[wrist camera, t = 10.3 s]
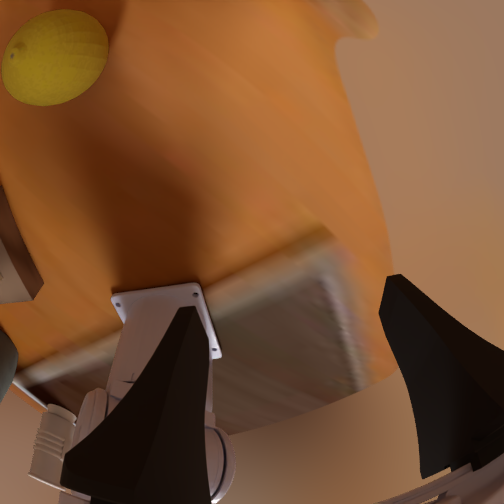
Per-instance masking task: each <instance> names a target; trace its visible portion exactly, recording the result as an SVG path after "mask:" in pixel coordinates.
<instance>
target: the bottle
mask: <svg viewBox="0 0 504 504" xmlns="http://www.w3.org/2000/svg"><path fill="white" fill-rule="evenodd" d="M17 361H18V352H17V349H16V347H15V346H14V344H13V342H12V341H11V340H10V339H9V338H8V336H7V335H6V334H4V333H3V332H2V331H1V330H0V402H1V401H2V399H3V398H4V396H5V394H6V392H7V390H8V389H9V387H10V385H11V383H12V381H13V378H14V374H15V371H16V367H17Z"/></svg>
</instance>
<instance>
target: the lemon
mask: <svg viewBox="0 0 504 504" xmlns="http://www.w3.org/2000/svg"><path fill="white" fill-rule="evenodd" d="M108 52H109V44H108V37H107V35H106V32H105V29H104V28H103V27H102V25H101V24H100V23H99V22H98V21H97V20H96V19H95V18H94V17H92V16H90V15H88V14H87V13H85V12H82V11H77V10H70V9H59V10H54V11H49V12H45V13H42V14H40V15H38V16H36V17H34V18H32V19H30V20H29V21H28V22H26V23H25V24H24V25H23V26H21V28H20V29H19V30H18V31H17V32H16V33H15V34H14V36H13V37H12V38H11V40H10V42H9V43H8V45H7V47H6V50H5V52H4V55H3V59H2V66H1V73H2V80H3V83H4V85H5V88H6V89H7V91H8V92H9V93H10V94H11V95H12V96H13V97H14V98H15V99H17V100H19V101H21V102H23V103H25V104H29V105H37V106H50V105H56V104H61V103H64V102H67V101H69V100H71V99H73V98H76V97H78V96H79V95H80V94H82V93H83V92H84V91H86V90H87V89H89V88H90V86H91V85H92V84H93V83H94V82H95V81H96V80H97V79H98V77H99V76H100V74H101V72H102V71H103V69H104V67H105V64H106V62H107V58H108Z"/></svg>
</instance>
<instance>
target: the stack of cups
mask: <svg viewBox="0 0 504 504" xmlns="http://www.w3.org/2000/svg"><path fill="white" fill-rule="evenodd" d="M47 407H48V412H43V414H42V419H41V424H40V428H38V431H37V432H38V434H37V435H36V438H37V439H36V440H35V444H36V445H34V446H33V448H34V454H33V458H32V463H31V469H30V472H29V473H28V475H29V476H31V477H33V478H35V479H37V480H38V481H41V482H43V483H45V484H47V485H50V486H52V487H55V488H57V489H60V490H63V491H66V489H65V487H63V486H61V485H60V477H61V471H62V466H63V460H64V456H65V453H67V452H68V451H69V450H71V445H72V440H73V435H74V431H75V426H74V425H73V424H72V423H73V422H74V421H75V420H76V416H75V415H74V414H72V413H71V412H70V411H68V410H66V409H64V408H62V407H60V406H58V405H54V404H48V405H47Z"/></svg>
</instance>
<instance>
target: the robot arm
mask: <svg viewBox="0 0 504 504" xmlns="http://www.w3.org/2000/svg"><path fill="white" fill-rule="evenodd" d="M193 293H198V294H193ZM111 301H112V303H113V305H114V307H115V309H116V311H117V312H118V314H119V316H120V318H121V320H122V321H123V323H124V326H123V329H122V332H121V336H120V339H119V343H118V346H117V349H116V353H115V357H114V360H113V364H112V368H111V371H110V375H109V379H108V383H107V387H106V390H103V389H100V388H96V389H95V390H94V391H91V392H88V393H87V395H86V396H85V399H84V401H83V404H82V406H81V409H80V412H79V416H78V419H77V423H76V426H75V431H74V435H73V440H72V445H71V450H69V451H68V452H67V453H65V456H64V460H63V466H62V471H61V477H60V485H61V486H63V487H65V488H68V489H71V493H72V495H71V494H68V493H66V492H63V491H61V492H60V495H59V504H216V503H217V502H218V501H219V500H220V499H221V498H222V497H223V496H224V495H225V494H226V493H227V491H228V489H229V487H230V486H231V484H232V481H233V479H234V475H235V469H236V458H235V452H234V449H233V445H232V443H231V440H230V438H229V436H228V435H227V434H226V432H225V431H223V430H222V429H220V428H218V427H215V414H214V413H211V411H212V406H213V398H212V359H217V358H220V357H222V351H221V349H220V346H219V343H218V340H217V337H216V334H215V331H214V328H213V325H212V322H211V319H210V316H209V312H208V309H207V306H206V303H205V300H204V297H203V293H202V290H201V287H200V285H199V284H198V283H186V284H179V285H173V286H166V287H158V288H151V289H144V290H137V291H130V292H122V293H115V294H113V295H112V296H111ZM118 303H120V304H118ZM379 316H380V320H381V323H382V326H383V329H384V332H385V336H386V338H387V340H388V342H389V345H390V347H391V349H392V352H393V354H394V356H395V359H396V361H397V363H398V366H399V368H400V370H401V373H402V375H403V377H404V380H405V383H406V385H407V389H408V392H409V396H410V400H411V404H412V408H413V413H414V418H415V423H416V429H417V436H418V444H419V455H420V473H421V476H422V479H425V478H427V477H429V476H432V475H434V474H436V473H438V472H440V471H442V470H444V469H446V468H448V467H450V468H451V473H449V474H447V475H445V476H443V477H441V478H439V479H437V480H434V481H432V482H430V483H428V484H426V485H423V486H421V487H419V488H416V489H414V490H411V491H409V492H406V493H404V494H401V495H399V496H396V497H393V498H390V499H387V500H384V501H381V502H378V503H374V504H420V503H422V502H424V501H427V500H429V499H431V498H433V497H435V496H437V495H439V496H438V499H437V500H434V501H431V502H428V503H425V504H504V351H503V350H501V349H500V348H498V347H496V346H494V345H493V344H491V343H489V342H487V341H486V340H484V339H483V338H481V337H480V336H478V335H477V334H475V333H474V332H472V331H471V330H469V329H468V328H467V327H465V326H464V325H462V324H461V323H460V322H459V321H457V320H456V319H455V318H453V317H452V316H451V315H449V314H448V313H447V312H446V311H444V310H443V309H442V308H441V307H440V306H438V305H437V304H436V303H434V301H432V300H431V299H430V298H429V297H428V296H426V295H425V294H424V293H423V292H422V291H421V290H419V289H418V288H417V287H416V286H415V285H413V284H412V283H411V282H410V281H409V280H408V279H406V278H405V277H404V276H403V275H401V274H397V275H392V276H387V278H386V283H385V287H384V292H383V296H382V301H381V305H380V309H379Z"/></svg>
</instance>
